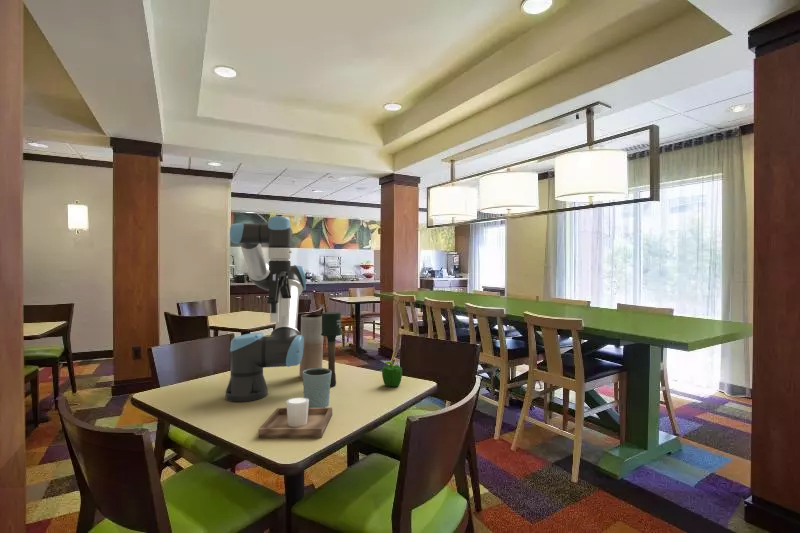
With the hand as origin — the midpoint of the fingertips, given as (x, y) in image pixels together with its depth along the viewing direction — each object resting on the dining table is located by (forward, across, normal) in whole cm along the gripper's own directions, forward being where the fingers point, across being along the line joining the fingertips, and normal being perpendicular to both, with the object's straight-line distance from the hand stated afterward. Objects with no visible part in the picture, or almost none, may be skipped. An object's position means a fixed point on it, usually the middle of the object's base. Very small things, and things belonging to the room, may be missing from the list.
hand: (280, 319), depth 147 cm
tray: (+29, -23, -12) cm, 39 cm away
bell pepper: (+31, +20, -40) cm, 54 cm away
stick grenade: (+31, +20, -15) cm, 40 cm away
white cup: (+28, -23, -12) cm, 38 cm away
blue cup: (+30, -4, -14) cm, 33 cm away
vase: (+32, +35, -4) cm, 48 cm away
